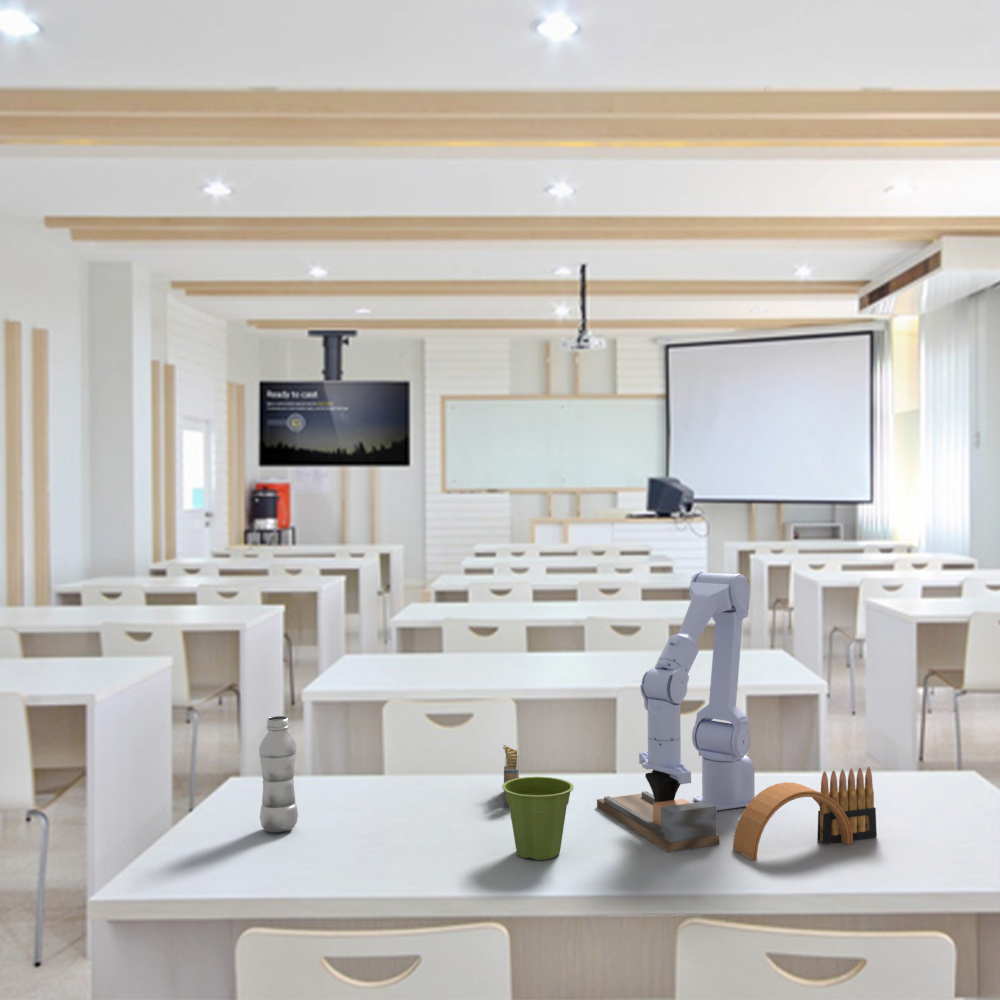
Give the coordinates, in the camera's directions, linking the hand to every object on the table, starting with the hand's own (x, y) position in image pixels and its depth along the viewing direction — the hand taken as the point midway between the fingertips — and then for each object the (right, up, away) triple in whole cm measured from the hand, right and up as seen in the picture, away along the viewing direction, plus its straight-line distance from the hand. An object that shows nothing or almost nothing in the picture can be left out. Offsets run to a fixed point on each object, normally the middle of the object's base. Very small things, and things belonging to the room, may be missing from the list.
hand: (664, 814), depth 181 cm
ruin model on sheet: (-27, -4, +19) cm, 33 cm away
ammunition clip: (+30, -3, -5) cm, 31 cm away
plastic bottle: (-68, -4, +2) cm, 68 cm away
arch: (+20, -3, -9) cm, 22 cm away
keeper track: (-1, -3, +3) cm, 4 cm away
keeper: (+1, -1, -3) cm, 4 cm away
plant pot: (-23, -3, -11) cm, 25 cm away
